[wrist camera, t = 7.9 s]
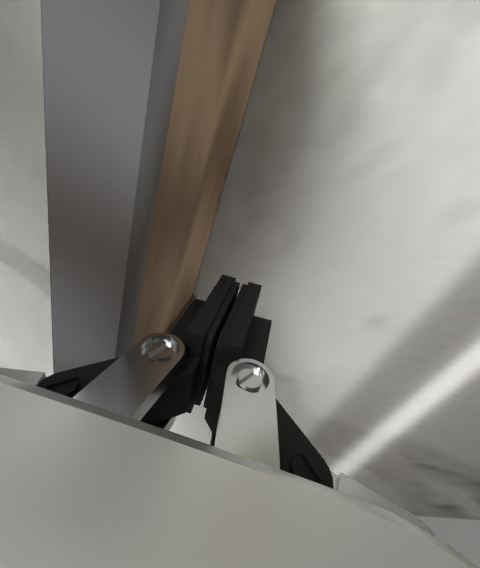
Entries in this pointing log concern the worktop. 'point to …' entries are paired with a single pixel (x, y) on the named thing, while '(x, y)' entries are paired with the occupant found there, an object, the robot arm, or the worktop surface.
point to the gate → (137, 157)
